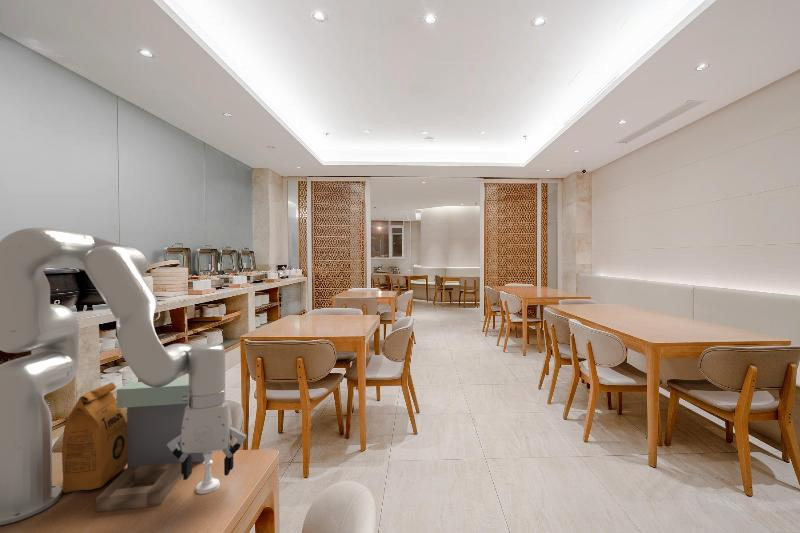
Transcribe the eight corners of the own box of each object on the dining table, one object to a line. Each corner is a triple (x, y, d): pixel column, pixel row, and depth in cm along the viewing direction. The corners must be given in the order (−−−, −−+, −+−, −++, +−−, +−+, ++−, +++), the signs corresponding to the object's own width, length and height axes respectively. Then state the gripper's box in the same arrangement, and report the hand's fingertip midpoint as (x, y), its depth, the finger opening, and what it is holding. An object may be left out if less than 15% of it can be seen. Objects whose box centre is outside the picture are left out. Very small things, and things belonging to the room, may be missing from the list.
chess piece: (209, 495, 82) (209, 450, 82) (190, 492, 83) (190, 448, 83) (224, 482, 86) (224, 440, 87) (206, 480, 87) (206, 438, 88)
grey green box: (117, 478, 88) (116, 389, 89) (129, 466, 94) (129, 382, 94) (197, 470, 92) (196, 384, 92) (205, 459, 97) (204, 378, 97)
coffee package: (136, 464, 95) (136, 379, 95) (100, 494, 82) (99, 396, 82) (96, 466, 94) (95, 380, 94) (53, 496, 82) (53, 397, 82)
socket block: (96, 512, 76) (96, 497, 76) (128, 479, 88) (128, 467, 88) (159, 505, 78) (159, 491, 78) (182, 474, 90) (182, 462, 90)
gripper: (158, 407, 80) (158, 488, 79) (243, 401, 83) (243, 479, 82) (173, 395, 87) (173, 469, 87) (250, 390, 90) (251, 462, 90)
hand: (208, 474), depth 85 cm, fingers open, 8 cm apart
